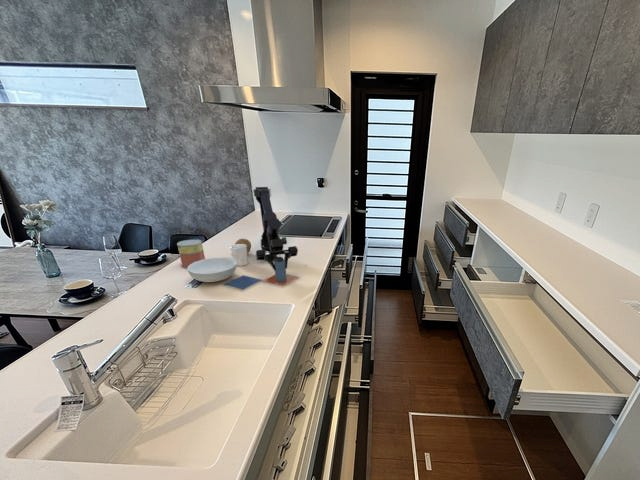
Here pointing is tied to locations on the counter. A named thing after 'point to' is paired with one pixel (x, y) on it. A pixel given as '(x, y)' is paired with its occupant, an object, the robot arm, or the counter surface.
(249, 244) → the natural sponge
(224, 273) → the serving bowl
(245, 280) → the blue mat
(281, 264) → the blue mill
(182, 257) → the canned food
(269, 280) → the terracotta trivet
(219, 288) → the counter surface
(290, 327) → the counter surface
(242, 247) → the white cup
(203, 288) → the counter surface
